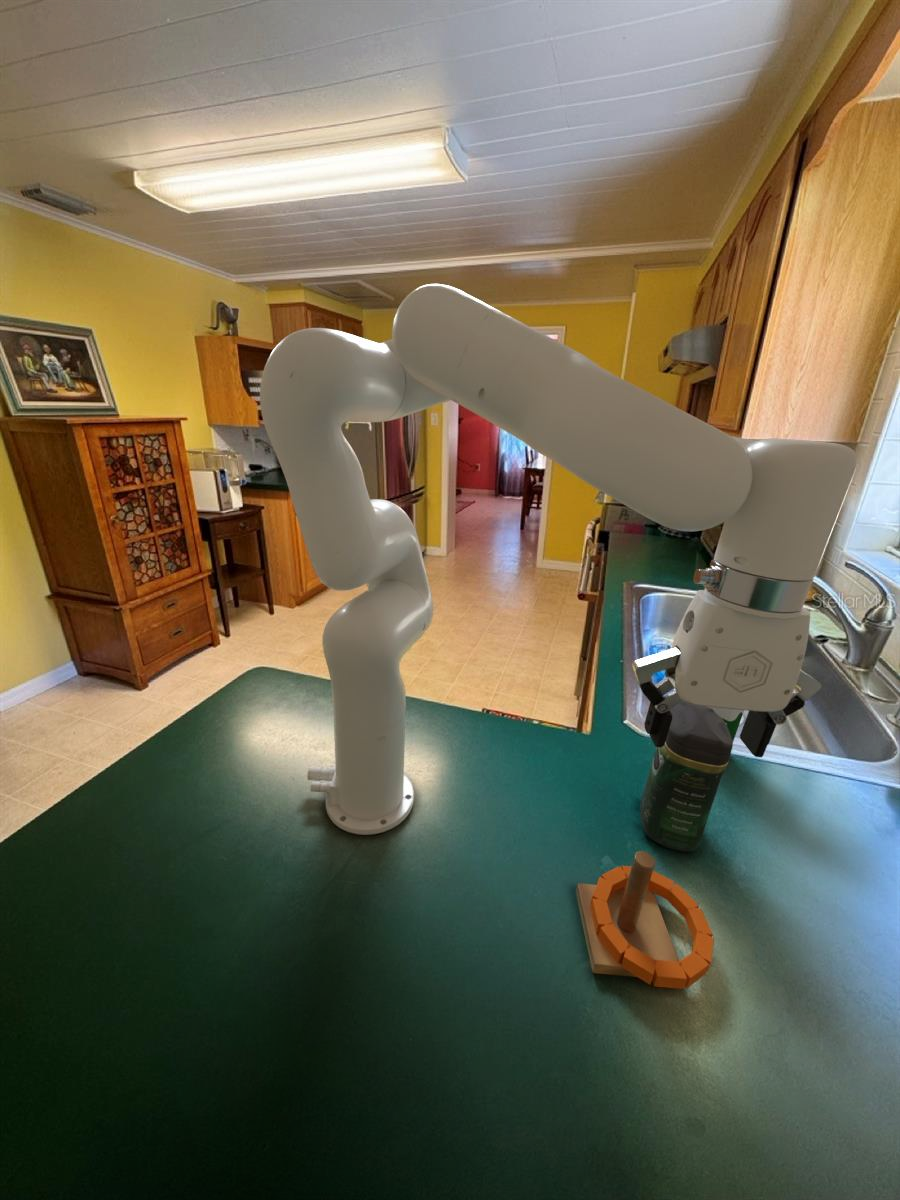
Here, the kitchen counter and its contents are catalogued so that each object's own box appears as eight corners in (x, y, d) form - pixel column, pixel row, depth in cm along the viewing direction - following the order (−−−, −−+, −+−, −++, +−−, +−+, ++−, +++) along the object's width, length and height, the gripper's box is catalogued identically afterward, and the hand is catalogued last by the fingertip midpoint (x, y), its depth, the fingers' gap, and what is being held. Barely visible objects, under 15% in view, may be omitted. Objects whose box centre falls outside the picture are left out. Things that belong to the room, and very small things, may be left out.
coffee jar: (703, 862, 62) (744, 748, 55) (639, 843, 64) (671, 731, 57) (693, 809, 71) (728, 704, 64) (637, 793, 73) (665, 691, 66)
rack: (592, 973, 49) (613, 896, 45) (575, 891, 57) (591, 820, 53) (679, 981, 49) (709, 905, 44) (649, 898, 57) (672, 827, 53)
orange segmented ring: (606, 982, 47) (609, 971, 46) (581, 871, 58) (583, 861, 57) (731, 993, 46) (735, 983, 46) (681, 880, 58) (684, 870, 57)
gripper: (672, 593, 38) (627, 760, 45) (889, 612, 38) (812, 778, 44) (642, 565, 45) (607, 713, 52) (825, 581, 45) (767, 728, 51)
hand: (702, 743), depth 48 cm, fingers open, 9 cm apart
